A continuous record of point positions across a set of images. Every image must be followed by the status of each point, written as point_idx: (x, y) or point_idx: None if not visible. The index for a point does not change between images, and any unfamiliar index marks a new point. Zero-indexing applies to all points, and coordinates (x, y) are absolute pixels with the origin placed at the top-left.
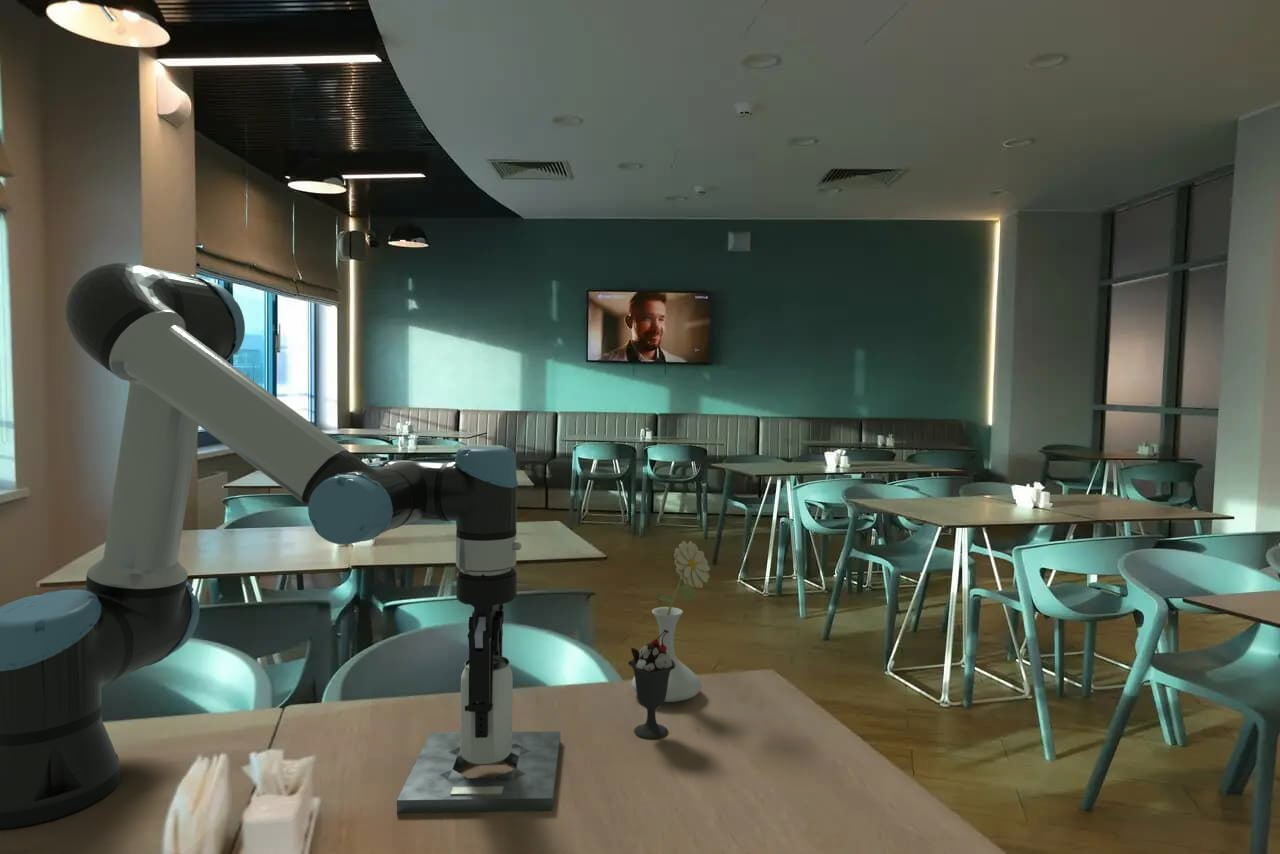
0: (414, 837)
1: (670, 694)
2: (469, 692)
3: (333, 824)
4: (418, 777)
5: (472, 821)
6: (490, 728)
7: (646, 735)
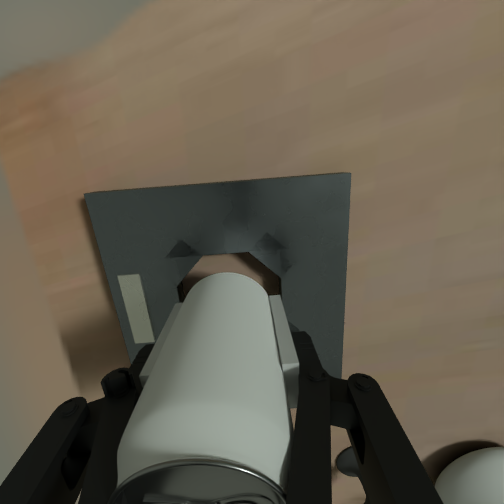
0: (41, 239)
1: (441, 498)
2: (17, 464)
3: (35, 91)
4: (166, 206)
5: (101, 303)
6: None
7: (342, 460)
